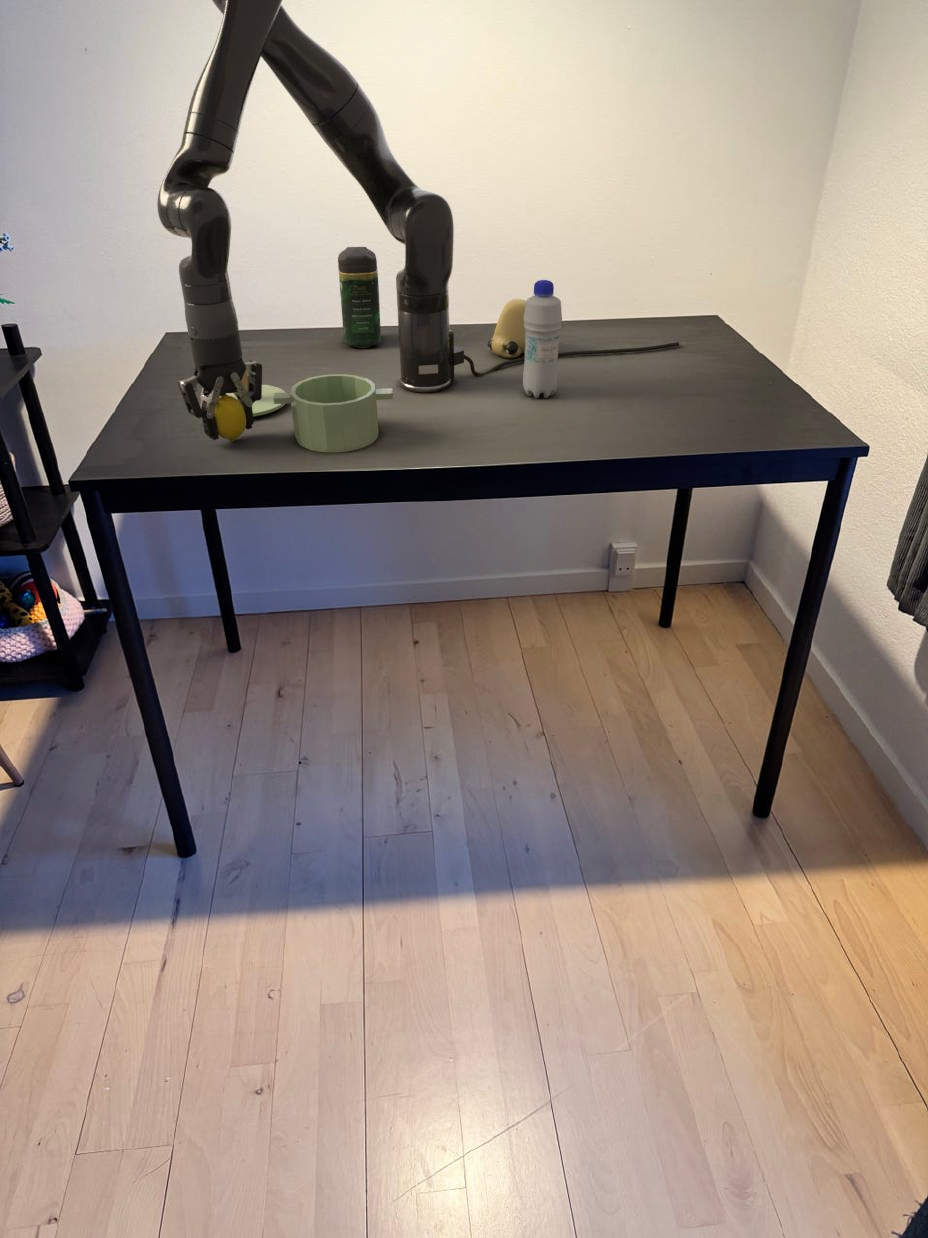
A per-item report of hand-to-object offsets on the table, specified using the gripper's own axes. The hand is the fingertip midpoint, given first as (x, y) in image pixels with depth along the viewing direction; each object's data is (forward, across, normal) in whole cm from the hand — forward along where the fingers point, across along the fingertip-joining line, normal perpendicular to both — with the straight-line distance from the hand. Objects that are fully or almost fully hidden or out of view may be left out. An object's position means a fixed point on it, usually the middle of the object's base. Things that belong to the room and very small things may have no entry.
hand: (230, 432), depth 145 cm
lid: (+1, -10, -12) cm, 16 cm away
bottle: (+2, -52, +20) cm, 56 cm away
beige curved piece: (+2, -65, +1) cm, 65 cm away
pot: (+1, -14, +10) cm, 17 cm away
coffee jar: (+2, -47, -26) cm, 53 cm away
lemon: (+2, 0, 0) cm, 2 cm away
